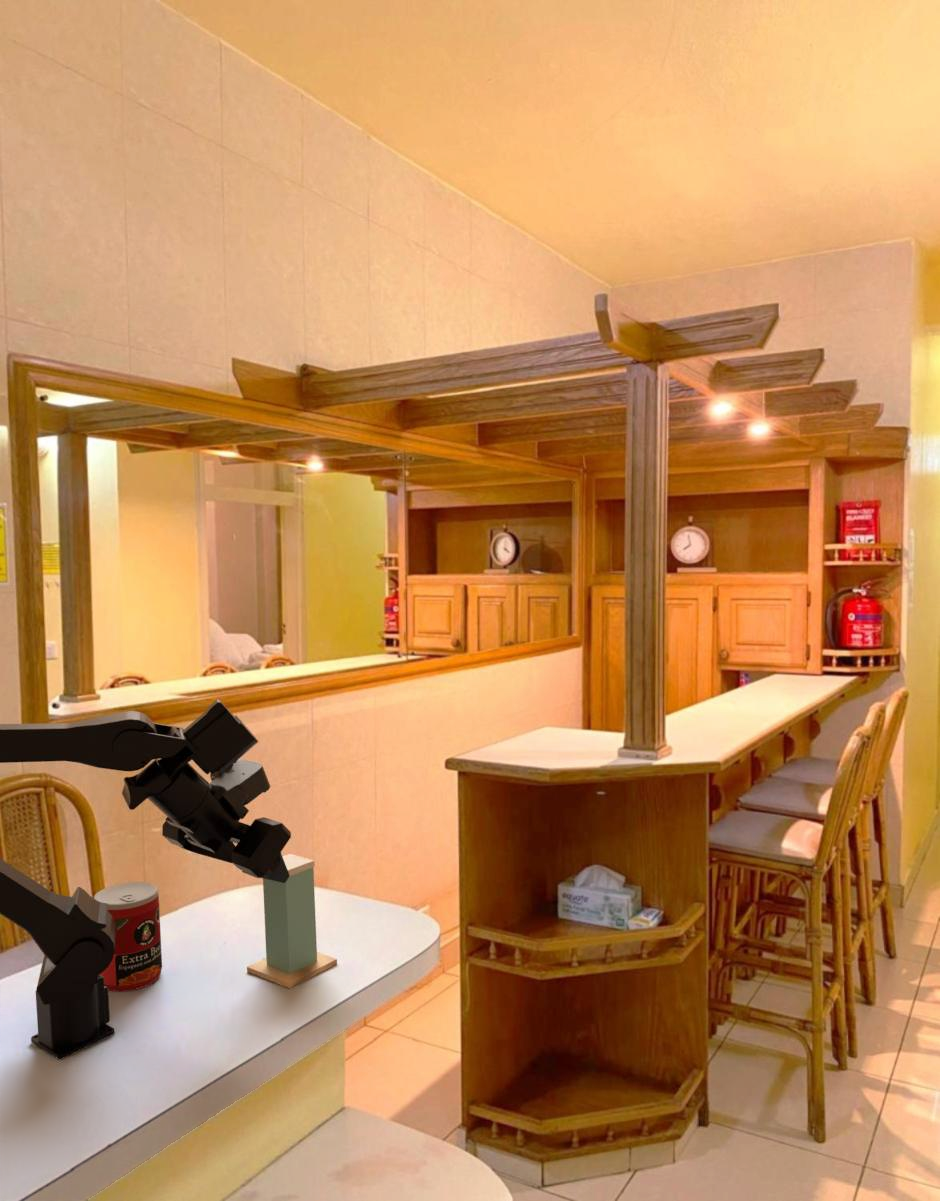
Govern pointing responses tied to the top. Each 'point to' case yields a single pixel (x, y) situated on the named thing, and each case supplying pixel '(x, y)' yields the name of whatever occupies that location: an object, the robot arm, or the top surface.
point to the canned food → (133, 935)
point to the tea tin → (291, 917)
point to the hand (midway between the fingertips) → (263, 870)
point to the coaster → (294, 978)
